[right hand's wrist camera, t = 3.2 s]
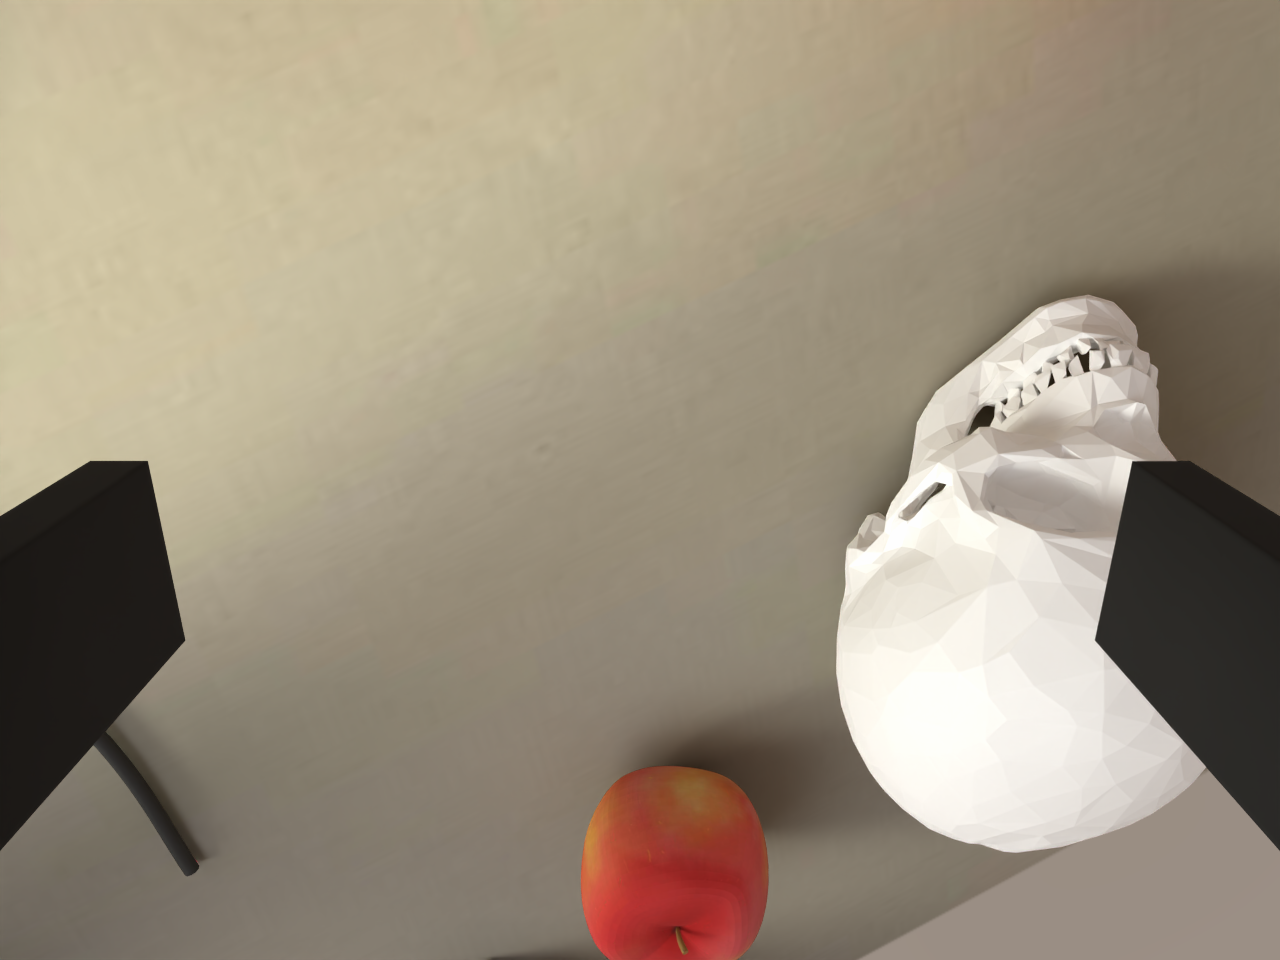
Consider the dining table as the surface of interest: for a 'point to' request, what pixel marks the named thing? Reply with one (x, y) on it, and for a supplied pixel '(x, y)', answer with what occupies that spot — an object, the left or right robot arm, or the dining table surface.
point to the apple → (674, 867)
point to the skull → (1011, 599)
